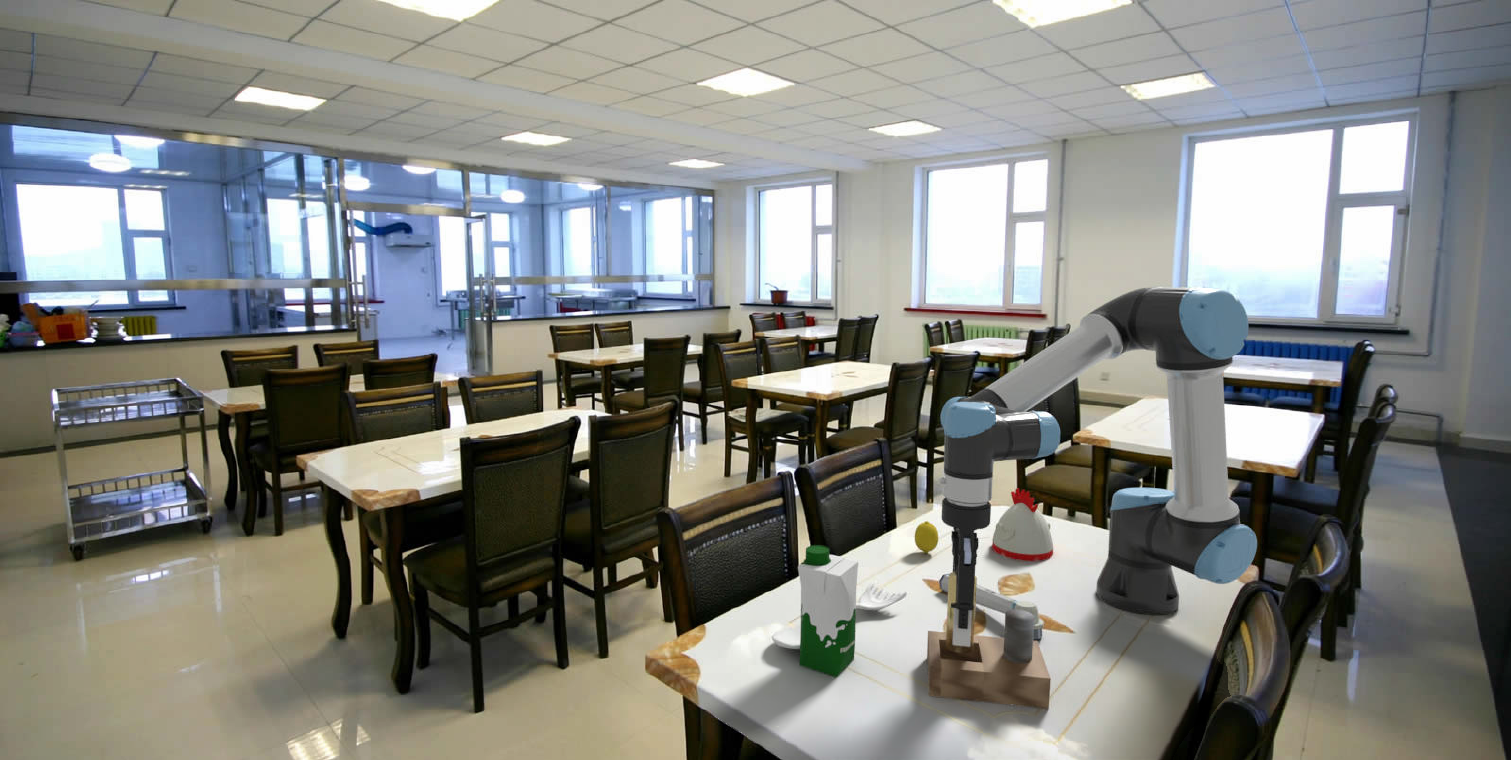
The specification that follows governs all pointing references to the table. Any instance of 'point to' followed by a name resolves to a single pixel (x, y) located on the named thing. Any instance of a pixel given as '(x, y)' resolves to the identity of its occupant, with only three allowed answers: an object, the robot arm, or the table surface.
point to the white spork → (866, 602)
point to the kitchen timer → (1023, 531)
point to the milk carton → (827, 610)
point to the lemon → (926, 537)
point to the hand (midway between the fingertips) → (960, 636)
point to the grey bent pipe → (1001, 603)
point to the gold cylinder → (951, 617)
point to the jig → (992, 666)
